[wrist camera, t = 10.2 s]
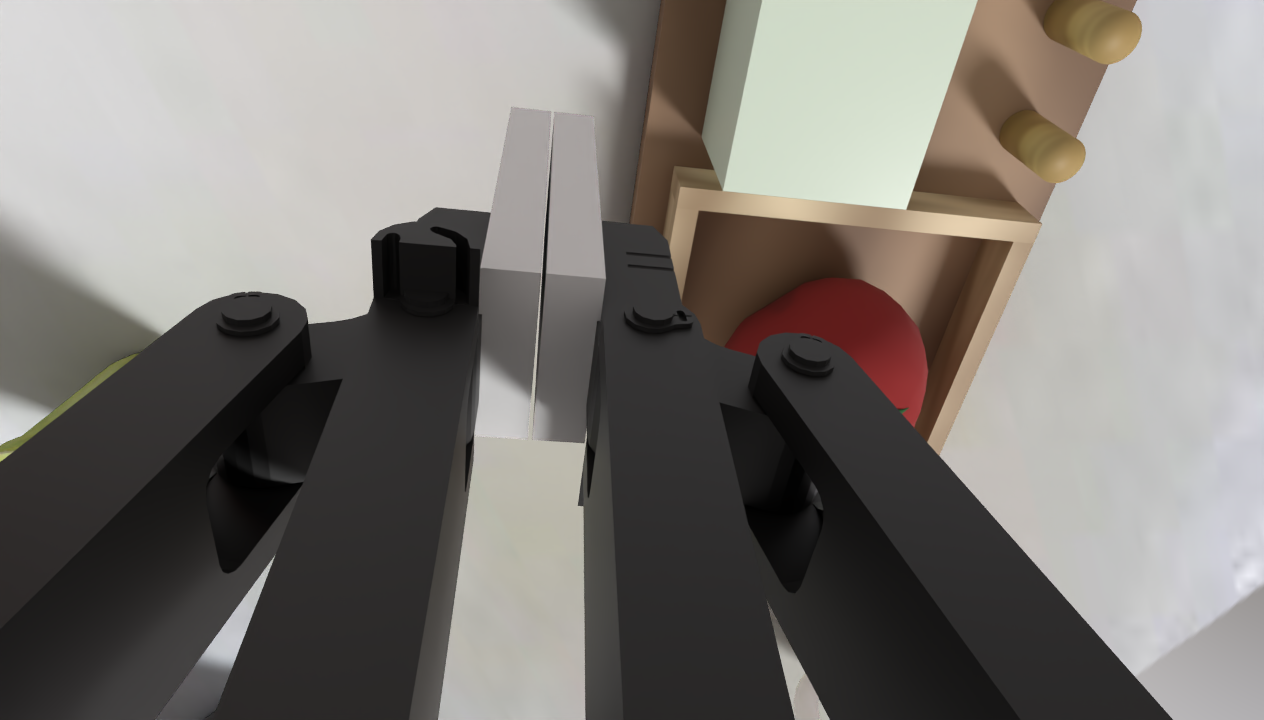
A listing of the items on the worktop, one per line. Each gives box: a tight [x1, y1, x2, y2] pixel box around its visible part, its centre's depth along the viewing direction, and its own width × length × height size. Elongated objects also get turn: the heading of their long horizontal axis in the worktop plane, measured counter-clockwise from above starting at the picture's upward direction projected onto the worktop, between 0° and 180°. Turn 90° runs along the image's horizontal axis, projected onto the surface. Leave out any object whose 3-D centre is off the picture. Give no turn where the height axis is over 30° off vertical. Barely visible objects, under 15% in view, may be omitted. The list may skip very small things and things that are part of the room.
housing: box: [702, 0, 978, 210], centre depth 26 cm, size 6×7×5 cm
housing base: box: [629, 0, 1142, 455], centre depth 31 cm, size 16×24×4 cm, turn 172°
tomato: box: [724, 278, 928, 427], centre depth 32 cm, size 8×8×7 cm
